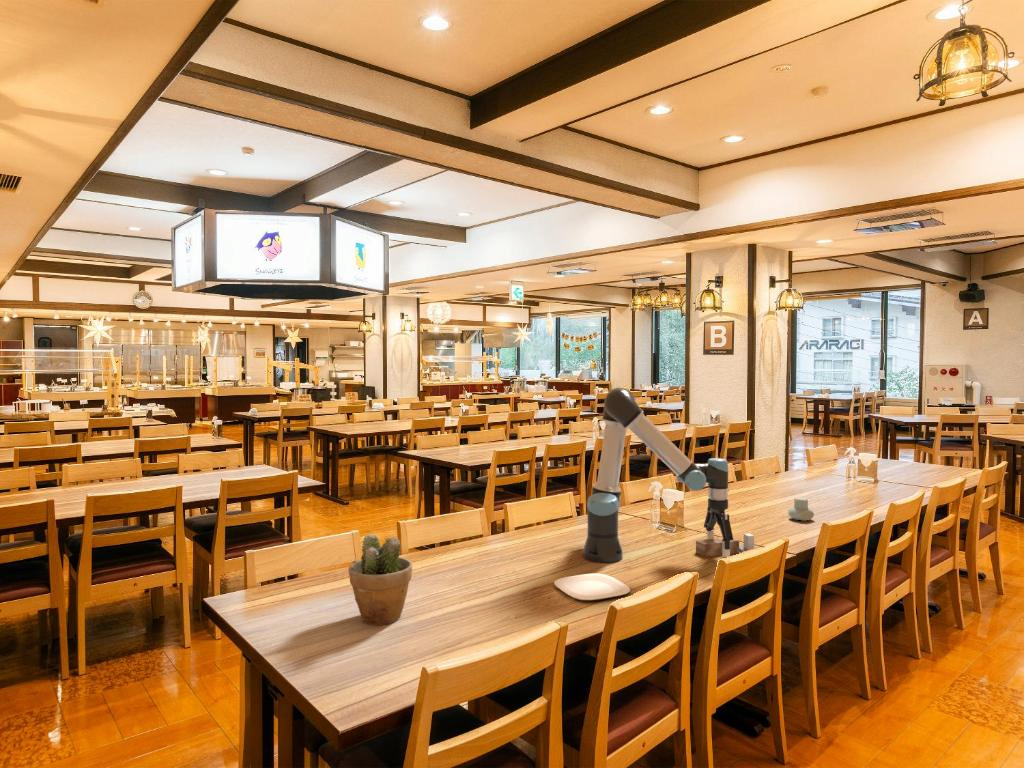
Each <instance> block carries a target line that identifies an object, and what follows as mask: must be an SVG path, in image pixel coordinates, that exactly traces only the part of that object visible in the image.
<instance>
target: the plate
mask: <svg viewBox="0 0 1024 768" xmlns="http://www.w3.org/2000/svg"><path fill="white" fill-rule="evenodd" d="M554 586H555V587H556V588H557V589H558V590H560V591H561V592H563V594H565V595H567V596H568V597H570V598H572V599H574V600H579V601H589V602H591V601H593V602H594V601H600V600H605V599H613V598H617V597H618V598H619V597H621V596H625V595H628V594H629V593H630V592H631V589H630V587H629V586H628V585H626V584H625V583H623V582H621V580H618V579H617V578H614V577H612V576H611V575H608V574H603V573H584V574H582V573H581V574H577V575H572V576H565V577H561V578H558V579H556V580H554Z"/></svg>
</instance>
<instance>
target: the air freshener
mask: <svg viewBox="0 0 1024 768" xmlns="http://www.w3.org/2000/svg"><path fill="white" fill-rule="evenodd" d="M793 500H794V501H793V502H794V504H793V506H791V508H789V509H788V516H789V517H790V518H791V519H793V520H796V521H798V520H801V521H800V522H808V521H810V520H812V519H813V518H814V511H813V510H812V509H811V508H809V500H808V498H805V497H794V499H793ZM807 520H808V521H807Z"/></svg>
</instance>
